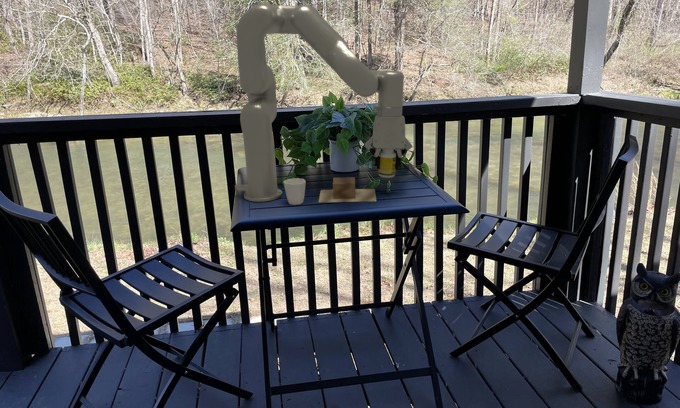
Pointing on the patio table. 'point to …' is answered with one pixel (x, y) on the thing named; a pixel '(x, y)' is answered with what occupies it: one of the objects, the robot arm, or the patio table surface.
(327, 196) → the board
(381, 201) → the patio table surface
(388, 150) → the supplement bottle
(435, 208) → the patio table surface
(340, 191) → the block
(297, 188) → the cup
